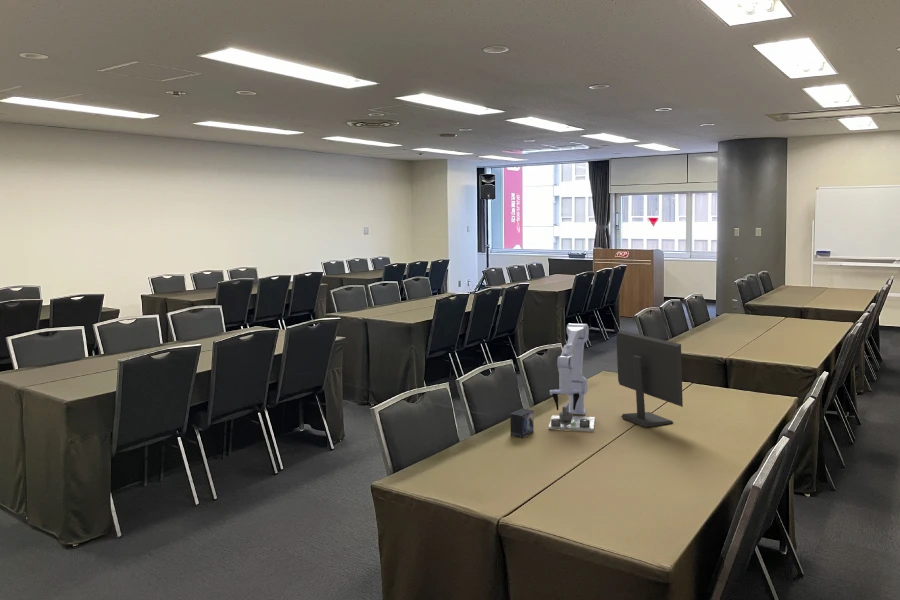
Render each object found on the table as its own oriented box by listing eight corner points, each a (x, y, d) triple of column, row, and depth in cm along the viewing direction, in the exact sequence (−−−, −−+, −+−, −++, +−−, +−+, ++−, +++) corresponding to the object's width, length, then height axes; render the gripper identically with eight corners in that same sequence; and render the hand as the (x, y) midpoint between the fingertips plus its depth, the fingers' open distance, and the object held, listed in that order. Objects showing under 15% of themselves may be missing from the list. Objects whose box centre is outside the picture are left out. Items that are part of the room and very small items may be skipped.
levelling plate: (552, 418, 324) (552, 410, 323) (594, 420, 319) (594, 412, 319) (548, 429, 307) (548, 421, 306) (593, 431, 302) (593, 423, 301)
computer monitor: (693, 431, 298) (694, 342, 293) (663, 436, 292) (664, 346, 288) (632, 407, 338) (632, 328, 334) (605, 411, 333) (605, 331, 328)
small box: (522, 438, 295) (522, 415, 294) (509, 436, 299) (509, 413, 298) (534, 432, 304) (534, 409, 302) (522, 430, 308) (521, 407, 306)
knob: (558, 421, 313) (557, 406, 312) (562, 414, 324) (562, 399, 323) (571, 422, 311) (570, 407, 310) (575, 414, 322) (575, 400, 321)
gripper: (550, 383, 310) (550, 412, 311) (582, 382, 309) (582, 411, 310) (549, 379, 317) (549, 407, 318) (580, 379, 316) (580, 407, 317)
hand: (565, 409), depth 315 cm, fingers open, 7 cm apart
